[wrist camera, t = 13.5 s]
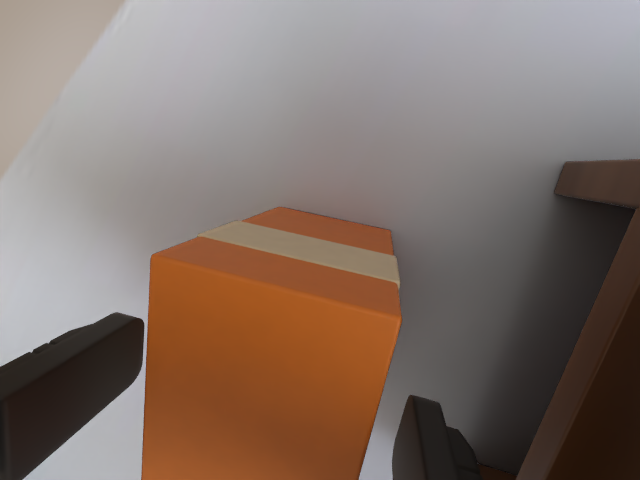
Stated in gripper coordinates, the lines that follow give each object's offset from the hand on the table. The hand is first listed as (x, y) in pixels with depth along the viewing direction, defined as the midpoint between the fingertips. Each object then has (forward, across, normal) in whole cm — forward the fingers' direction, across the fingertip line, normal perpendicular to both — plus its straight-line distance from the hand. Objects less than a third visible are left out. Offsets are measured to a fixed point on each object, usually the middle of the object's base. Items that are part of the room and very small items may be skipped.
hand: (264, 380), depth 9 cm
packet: (+6, 0, -1) cm, 6 cm away
